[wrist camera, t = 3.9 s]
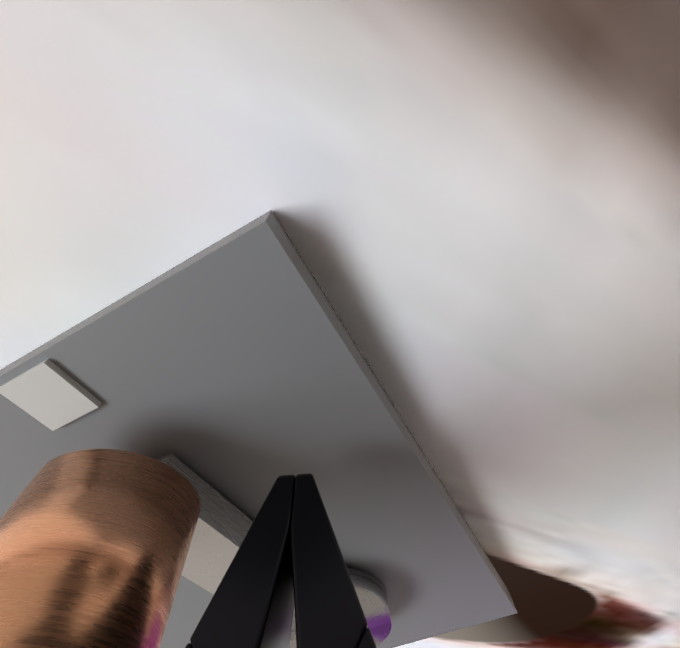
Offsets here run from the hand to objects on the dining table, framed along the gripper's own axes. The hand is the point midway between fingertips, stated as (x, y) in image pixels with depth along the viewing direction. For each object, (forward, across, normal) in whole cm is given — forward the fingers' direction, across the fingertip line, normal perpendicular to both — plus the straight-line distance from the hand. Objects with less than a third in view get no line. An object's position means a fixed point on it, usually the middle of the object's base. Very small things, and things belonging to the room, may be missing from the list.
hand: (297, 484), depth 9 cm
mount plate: (+2, +4, +8) cm, 9 cm away
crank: (+1, +2, +6) cm, 6 cm away
